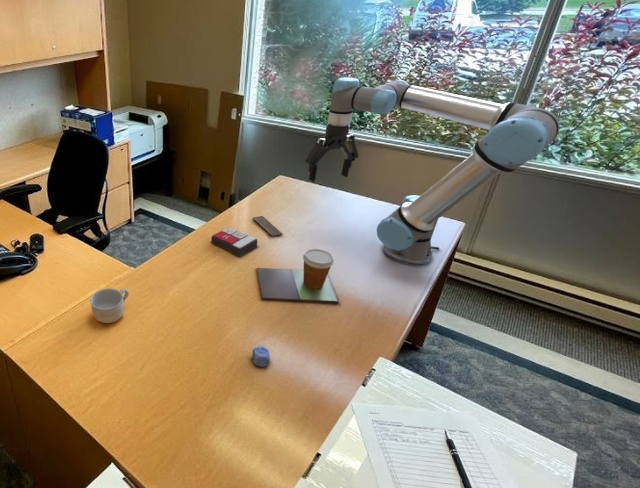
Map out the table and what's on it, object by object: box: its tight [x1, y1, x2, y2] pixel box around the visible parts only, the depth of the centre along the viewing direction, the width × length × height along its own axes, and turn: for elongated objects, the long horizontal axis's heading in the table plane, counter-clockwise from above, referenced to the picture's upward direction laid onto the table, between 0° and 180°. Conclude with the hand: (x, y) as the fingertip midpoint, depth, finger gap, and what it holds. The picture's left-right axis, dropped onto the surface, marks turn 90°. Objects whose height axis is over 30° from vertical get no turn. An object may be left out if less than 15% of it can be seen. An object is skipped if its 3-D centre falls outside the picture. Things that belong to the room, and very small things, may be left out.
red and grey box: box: [211, 226, 258, 257], centre depth 170 cm, size 11×4×15 cm
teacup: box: [89, 288, 130, 324], centre depth 137 cm, size 14×11×8 cm
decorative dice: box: [251, 345, 271, 368], centre depth 117 cm, size 4×4×4 cm
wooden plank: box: [252, 215, 283, 237], centre depth 181 cm, size 17×1×5 cm
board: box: [256, 267, 339, 305], centre depth 145 cm, size 24×17×1 cm
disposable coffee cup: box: [302, 248, 335, 290], centre depth 141 cm, size 10×10×12 cm
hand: (328, 178), depth 159 cm, fingers open, 13 cm apart
